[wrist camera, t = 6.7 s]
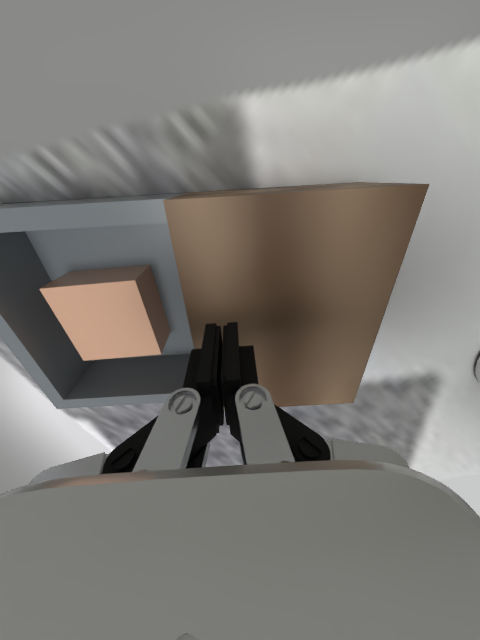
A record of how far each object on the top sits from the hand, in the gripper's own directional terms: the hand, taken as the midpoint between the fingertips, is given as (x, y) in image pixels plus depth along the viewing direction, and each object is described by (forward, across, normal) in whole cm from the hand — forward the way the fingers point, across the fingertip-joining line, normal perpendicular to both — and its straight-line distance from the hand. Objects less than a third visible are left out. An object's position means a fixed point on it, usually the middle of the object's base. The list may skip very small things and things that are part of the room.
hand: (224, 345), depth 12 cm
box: (+7, +8, 0) cm, 11 cm away
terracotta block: (+4, +8, 0) cm, 9 cm away
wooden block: (+7, -4, 0) cm, 8 cm away
